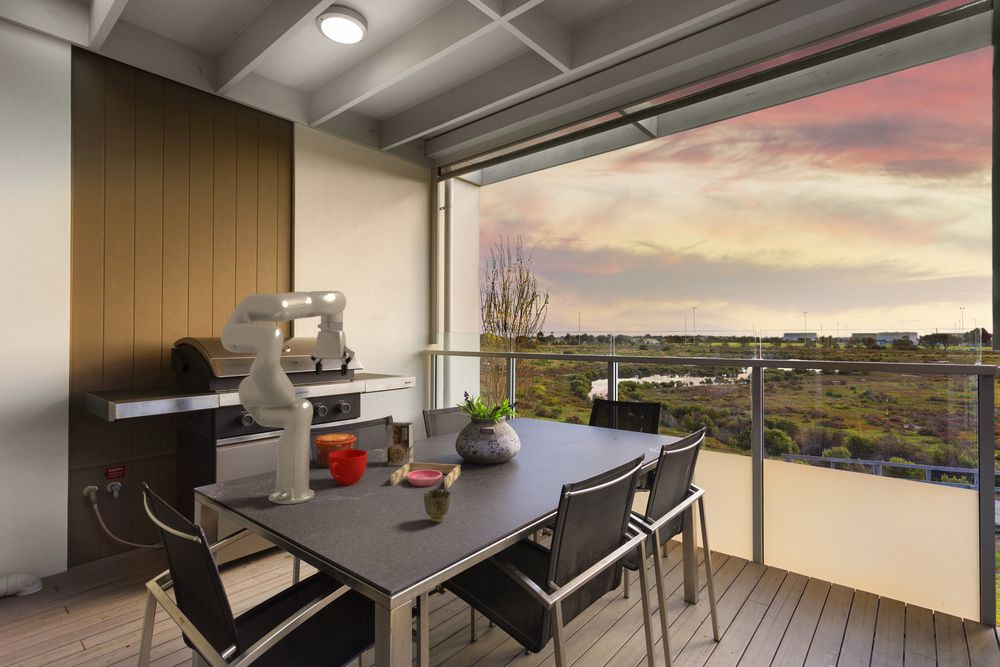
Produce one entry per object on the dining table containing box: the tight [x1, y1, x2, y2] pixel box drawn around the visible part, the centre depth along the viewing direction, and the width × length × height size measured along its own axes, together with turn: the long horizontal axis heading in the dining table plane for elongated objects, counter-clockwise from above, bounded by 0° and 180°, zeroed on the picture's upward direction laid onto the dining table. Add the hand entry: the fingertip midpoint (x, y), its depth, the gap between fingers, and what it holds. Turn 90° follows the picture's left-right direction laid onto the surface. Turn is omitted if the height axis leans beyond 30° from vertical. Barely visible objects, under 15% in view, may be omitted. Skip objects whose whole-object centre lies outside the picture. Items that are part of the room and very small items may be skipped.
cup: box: [423, 488, 451, 524], centre depth 142 cm, size 8×7×8 cm
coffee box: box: [386, 421, 414, 467], centre depth 203 cm, size 9×6×16 cm
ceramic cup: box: [329, 449, 368, 486], centre depth 176 cm, size 13×17×10 cm
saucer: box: [405, 470, 443, 487], centre depth 179 cm, size 12×12×3 cm
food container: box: [313, 433, 357, 469], centre depth 201 cm, size 16×16×11 cm
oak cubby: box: [390, 461, 461, 490], centre depth 181 cm, size 18×20×4 cm
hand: (331, 375), depth 184 cm, fingers open, 9 cm apart
